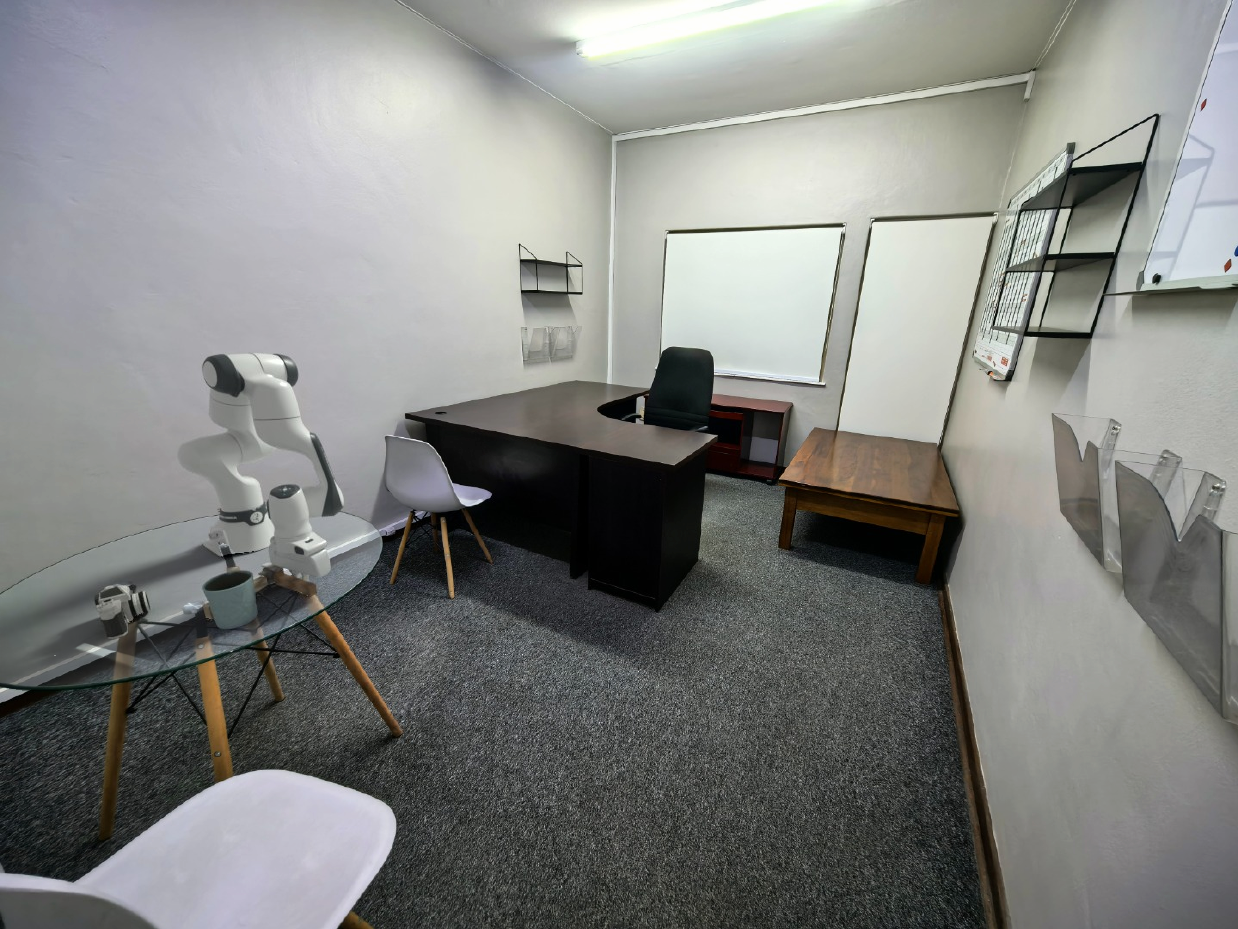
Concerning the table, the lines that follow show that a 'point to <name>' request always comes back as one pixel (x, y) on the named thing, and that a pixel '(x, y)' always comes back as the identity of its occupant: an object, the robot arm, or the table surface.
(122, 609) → the camera
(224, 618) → the green ceramic pot
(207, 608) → the base
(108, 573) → the table surface
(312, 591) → the tongs jaw
